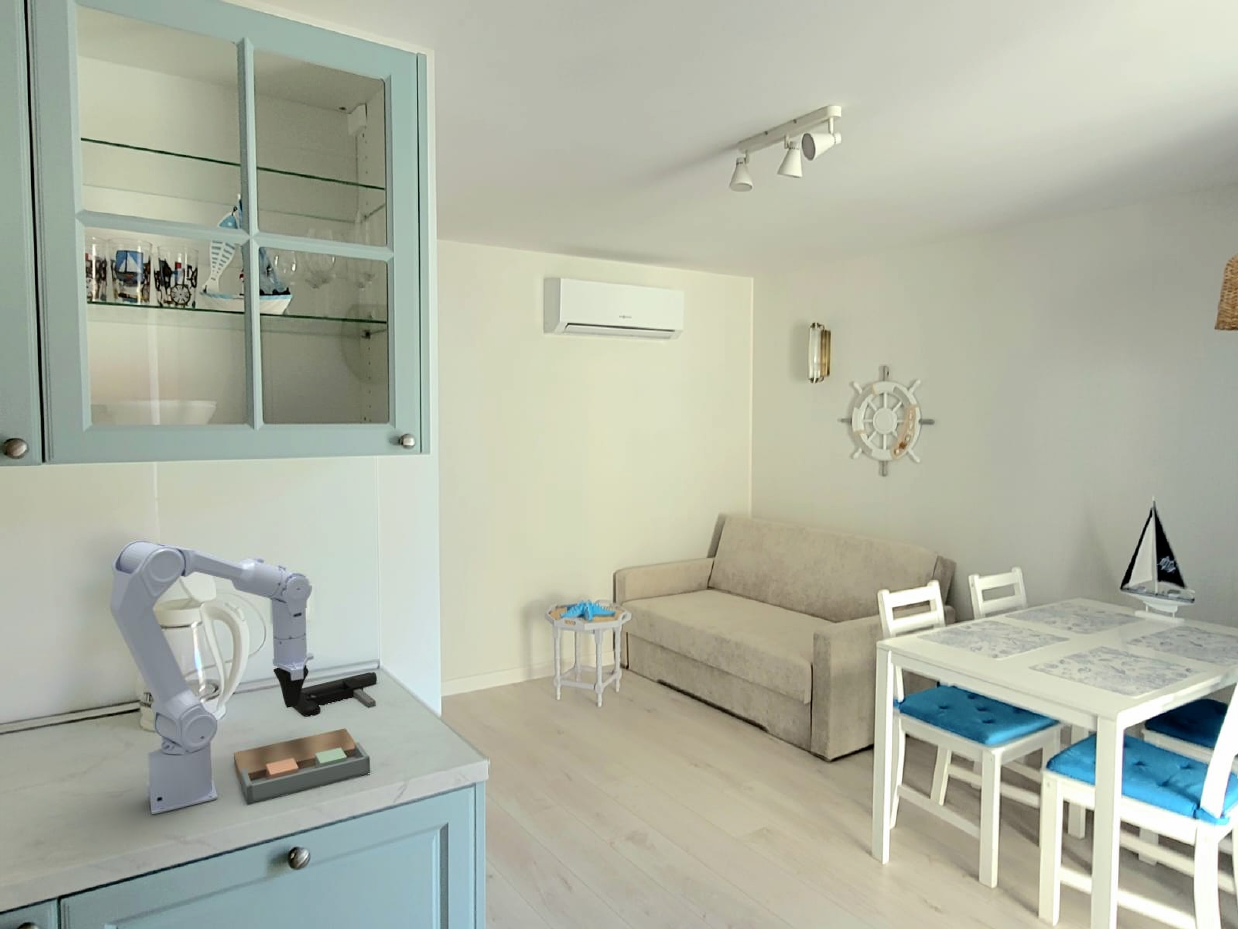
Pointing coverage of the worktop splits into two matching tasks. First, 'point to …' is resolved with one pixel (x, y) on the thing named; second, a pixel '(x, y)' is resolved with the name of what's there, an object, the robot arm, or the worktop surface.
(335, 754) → the sage tile
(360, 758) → the tray
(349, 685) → the door handle
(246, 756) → the walnut board
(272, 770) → the terracotta tile
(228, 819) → the worktop surface
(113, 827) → the worktop surface
